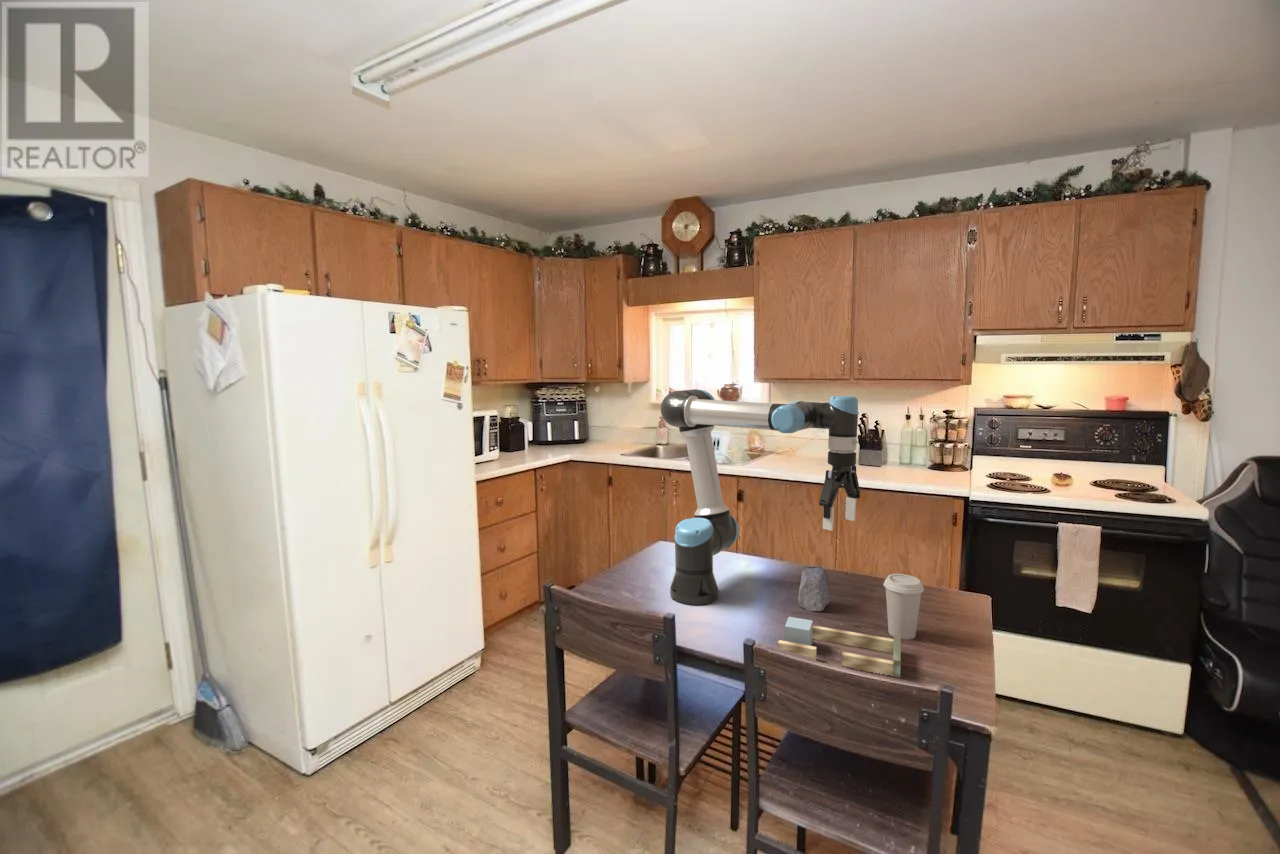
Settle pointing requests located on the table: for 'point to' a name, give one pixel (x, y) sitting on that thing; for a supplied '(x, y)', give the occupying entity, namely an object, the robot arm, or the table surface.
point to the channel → (858, 641)
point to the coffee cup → (903, 604)
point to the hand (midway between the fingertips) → (839, 524)
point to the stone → (813, 589)
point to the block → (799, 631)
